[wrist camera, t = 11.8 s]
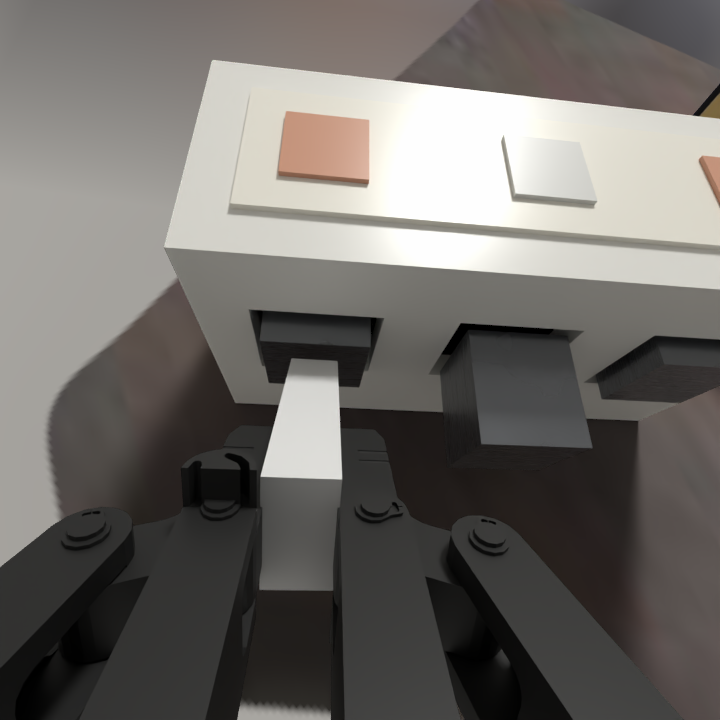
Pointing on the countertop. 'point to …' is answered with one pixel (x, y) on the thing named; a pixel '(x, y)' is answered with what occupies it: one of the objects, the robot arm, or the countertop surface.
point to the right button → (663, 370)
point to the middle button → (512, 402)
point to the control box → (442, 225)
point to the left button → (315, 343)
